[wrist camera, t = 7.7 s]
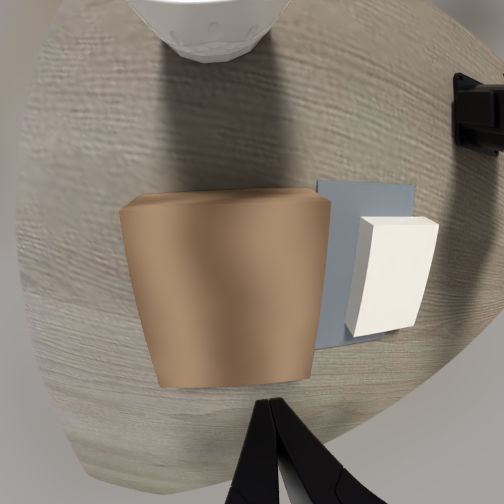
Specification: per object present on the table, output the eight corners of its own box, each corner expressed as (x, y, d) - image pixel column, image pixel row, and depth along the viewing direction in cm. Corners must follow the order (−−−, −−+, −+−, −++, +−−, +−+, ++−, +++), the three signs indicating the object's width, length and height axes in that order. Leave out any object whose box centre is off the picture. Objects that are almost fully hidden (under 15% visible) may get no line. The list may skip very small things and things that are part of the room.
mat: (413, 185, 19) (415, 185, 19) (383, 335, 24) (384, 337, 24) (316, 180, 18) (318, 181, 18) (302, 348, 24) (303, 350, 23)
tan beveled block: (309, 188, 18) (331, 201, 15) (297, 344, 23) (309, 378, 20) (139, 195, 17) (119, 211, 14) (166, 352, 22) (160, 387, 19)
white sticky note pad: (373, 225, 17) (360, 216, 19) (353, 337, 21) (344, 322, 23) (439, 224, 18) (423, 216, 20) (413, 325, 21) (402, 313, 23)
